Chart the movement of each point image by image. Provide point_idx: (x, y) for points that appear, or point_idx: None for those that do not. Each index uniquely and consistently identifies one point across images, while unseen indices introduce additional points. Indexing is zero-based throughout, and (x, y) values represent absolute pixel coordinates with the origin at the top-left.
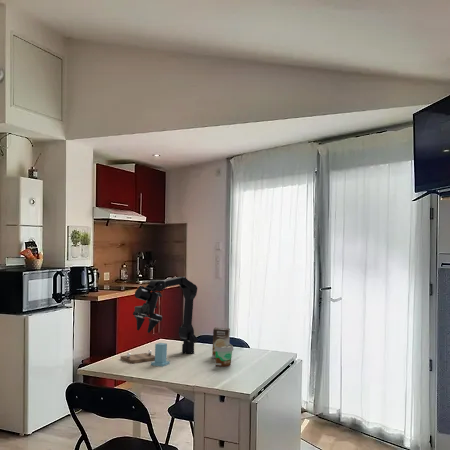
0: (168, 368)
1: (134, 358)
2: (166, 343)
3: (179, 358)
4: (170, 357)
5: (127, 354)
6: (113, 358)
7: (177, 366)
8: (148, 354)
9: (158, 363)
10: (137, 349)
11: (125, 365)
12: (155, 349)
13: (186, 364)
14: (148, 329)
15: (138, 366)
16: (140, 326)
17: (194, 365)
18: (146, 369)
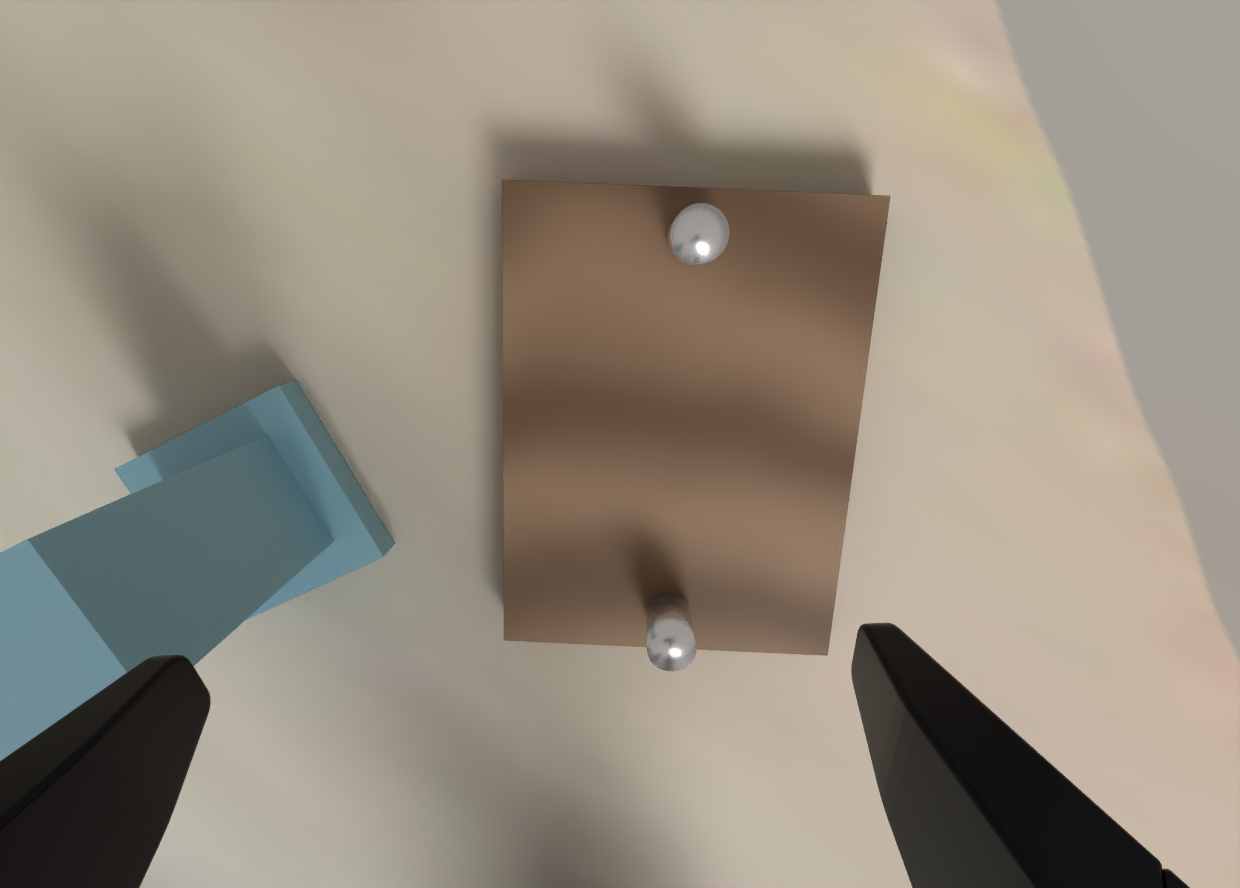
0: (10, 455)
1: (606, 300)
2: None
3: (439, 856)
4: (544, 808)
5: (699, 206)
6: (984, 127)
7: None
8: (673, 597)
9: (177, 438)
10: (1226, 750)
11: (446, 25)
12: (122, 499)
13: None
14: (42, 749)
15: (292, 169)
16: (920, 870)
17: None
18: (71, 165)
